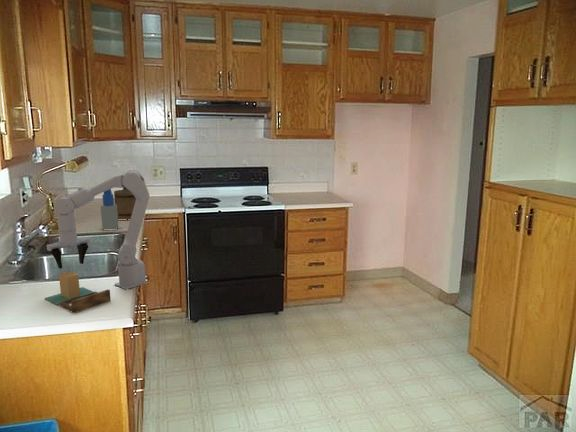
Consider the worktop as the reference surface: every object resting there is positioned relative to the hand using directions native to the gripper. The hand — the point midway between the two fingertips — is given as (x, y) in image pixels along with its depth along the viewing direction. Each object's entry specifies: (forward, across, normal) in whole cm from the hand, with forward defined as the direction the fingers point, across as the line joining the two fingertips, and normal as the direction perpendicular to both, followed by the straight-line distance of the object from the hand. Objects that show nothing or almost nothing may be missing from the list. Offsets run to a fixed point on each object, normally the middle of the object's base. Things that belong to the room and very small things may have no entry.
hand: (71, 265), depth 168 cm
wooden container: (+10, +74, +110) cm, 133 cm away
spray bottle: (+10, +53, +87) cm, 102 cm away
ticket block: (+9, -3, -6) cm, 12 cm away
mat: (+9, -3, -6) cm, 12 cm away
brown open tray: (+9, -2, -16) cm, 19 cm away
